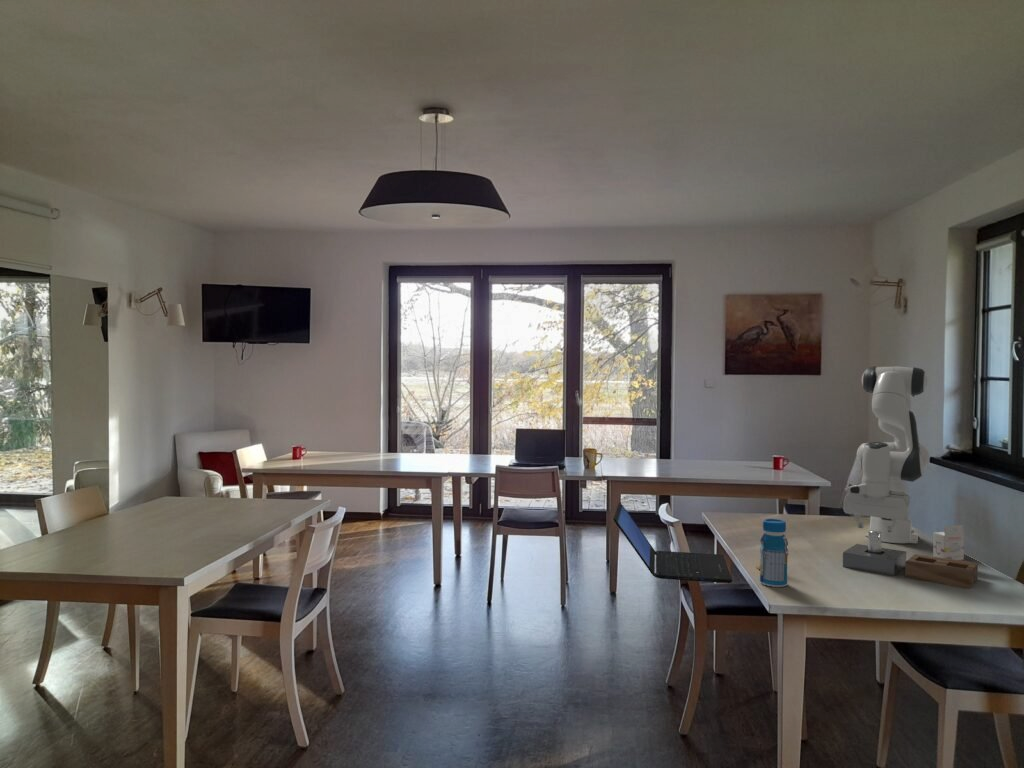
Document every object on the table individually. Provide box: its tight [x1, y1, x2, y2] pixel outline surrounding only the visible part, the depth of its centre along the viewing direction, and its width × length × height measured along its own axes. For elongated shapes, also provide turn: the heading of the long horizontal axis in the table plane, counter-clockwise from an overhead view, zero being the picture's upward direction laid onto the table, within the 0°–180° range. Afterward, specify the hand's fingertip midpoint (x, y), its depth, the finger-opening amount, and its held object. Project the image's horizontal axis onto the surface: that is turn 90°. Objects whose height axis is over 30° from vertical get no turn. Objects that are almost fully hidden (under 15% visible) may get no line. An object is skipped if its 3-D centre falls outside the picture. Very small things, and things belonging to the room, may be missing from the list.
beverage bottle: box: [759, 518, 789, 588], centre depth 223 cm, size 8×8×20 cm
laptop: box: [612, 501, 733, 584], centre depth 242 cm, size 33×38×19 cm
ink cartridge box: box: [932, 524, 965, 561], centre depth 245 cm, size 9×5×15 cm, turn 105°
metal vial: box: [867, 529, 882, 555], centre depth 244 cm, size 4×4×12 cm
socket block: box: [842, 543, 907, 576], centre depth 244 cm, size 16×16×5 cm
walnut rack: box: [904, 553, 979, 589], centre depth 231 cm, size 14×18×5 cm
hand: (875, 529), depth 244 cm, fingers open, 8 cm apart
